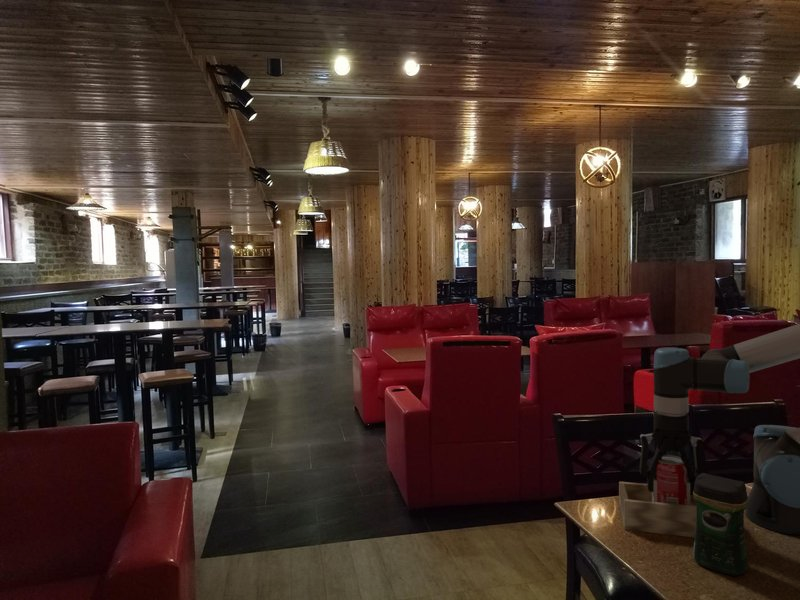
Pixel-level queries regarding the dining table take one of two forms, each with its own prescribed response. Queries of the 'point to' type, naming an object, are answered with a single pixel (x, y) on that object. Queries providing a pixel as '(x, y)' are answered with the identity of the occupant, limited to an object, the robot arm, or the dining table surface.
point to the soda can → (671, 480)
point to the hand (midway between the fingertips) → (670, 505)
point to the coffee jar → (720, 524)
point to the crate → (654, 512)
